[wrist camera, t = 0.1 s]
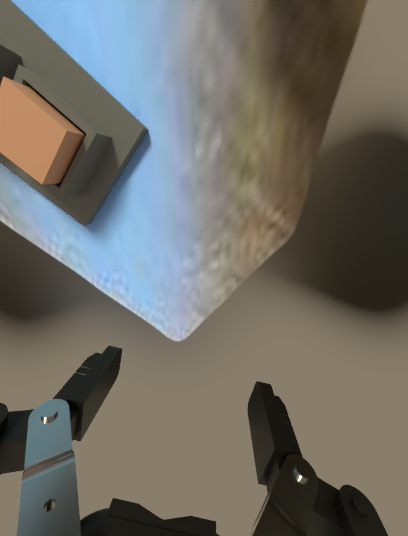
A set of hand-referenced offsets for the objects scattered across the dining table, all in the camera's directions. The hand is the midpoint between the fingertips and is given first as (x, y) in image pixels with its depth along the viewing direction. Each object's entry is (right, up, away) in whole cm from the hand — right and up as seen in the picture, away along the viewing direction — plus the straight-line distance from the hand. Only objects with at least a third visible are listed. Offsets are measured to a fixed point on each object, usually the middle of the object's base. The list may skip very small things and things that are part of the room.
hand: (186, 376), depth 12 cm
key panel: (-21, +26, +15) cm, 37 cm away
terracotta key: (-17, +21, +12) cm, 29 cm away
